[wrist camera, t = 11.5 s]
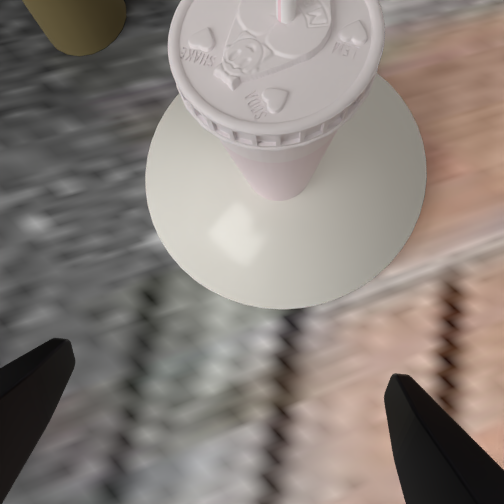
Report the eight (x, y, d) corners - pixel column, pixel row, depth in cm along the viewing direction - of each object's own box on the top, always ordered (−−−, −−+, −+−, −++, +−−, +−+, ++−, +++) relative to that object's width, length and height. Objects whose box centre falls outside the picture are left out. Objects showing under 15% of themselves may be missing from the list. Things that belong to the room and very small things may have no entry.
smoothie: (360, 165, 19) (571, -238, 5) (281, 247, 18) (270, 63, 5) (276, 98, 20) (256, -380, 6) (200, 174, 19) (-1, -148, 6)
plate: (465, 120, 20) (476, 108, 18) (337, 363, 18) (341, 367, 17) (233, 23, 22) (230, 7, 21) (106, 227, 21) (95, 222, 20)
